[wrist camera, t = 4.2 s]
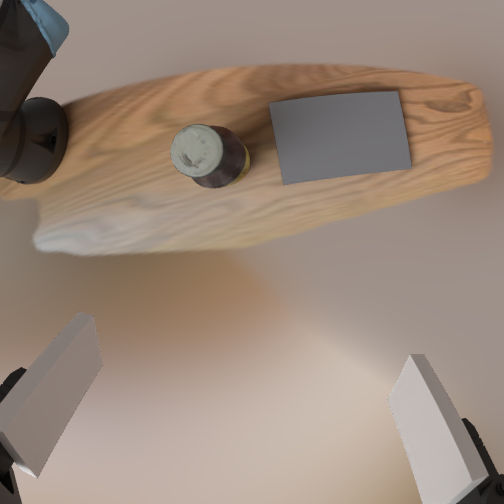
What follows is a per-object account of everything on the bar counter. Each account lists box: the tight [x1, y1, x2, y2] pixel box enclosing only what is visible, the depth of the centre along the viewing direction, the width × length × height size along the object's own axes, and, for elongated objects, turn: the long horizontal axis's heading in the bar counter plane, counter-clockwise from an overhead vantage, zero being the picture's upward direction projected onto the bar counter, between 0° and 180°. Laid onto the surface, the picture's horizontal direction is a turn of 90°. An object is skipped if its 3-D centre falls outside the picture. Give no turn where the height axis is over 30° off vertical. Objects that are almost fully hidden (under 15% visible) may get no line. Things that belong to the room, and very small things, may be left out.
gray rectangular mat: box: [268, 91, 412, 185], centre depth 38 cm, size 18×11×2 cm, turn 100°
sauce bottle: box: [170, 124, 250, 188], centre depth 31 cm, size 6×6×20 cm
